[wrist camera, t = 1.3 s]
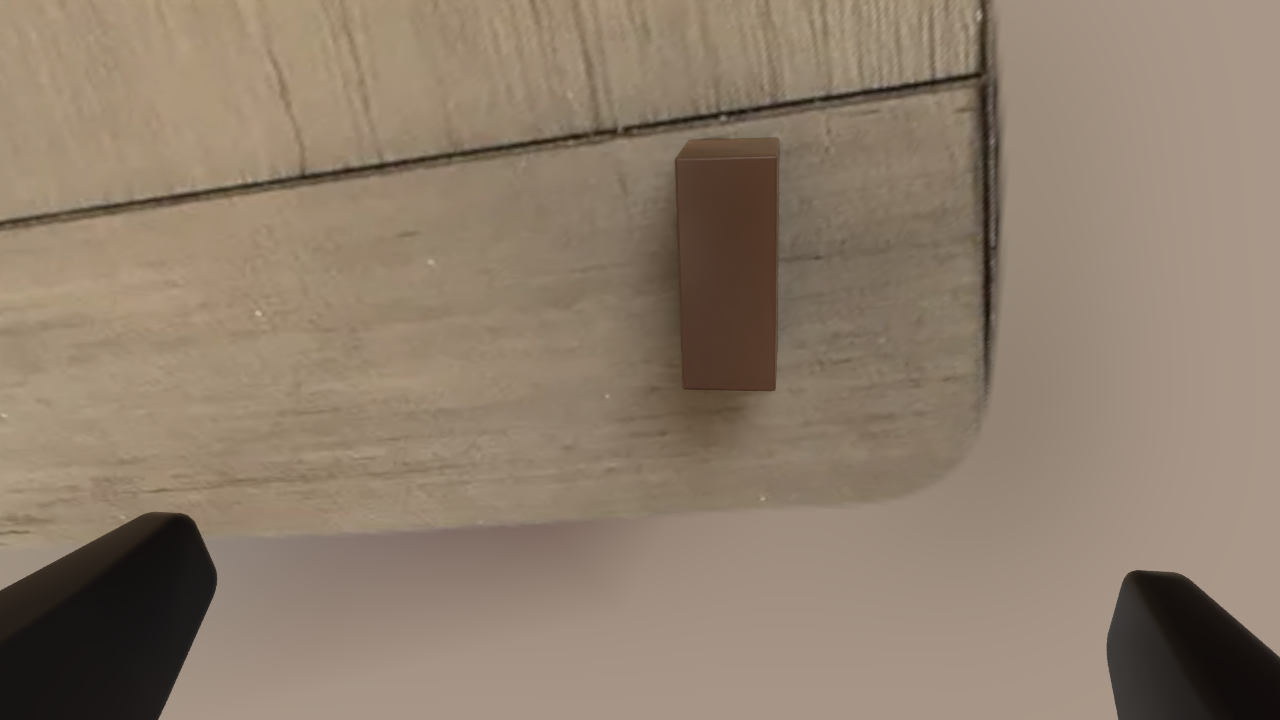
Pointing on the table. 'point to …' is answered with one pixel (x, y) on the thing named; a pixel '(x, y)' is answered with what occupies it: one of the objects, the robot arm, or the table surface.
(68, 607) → the robot arm
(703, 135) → the table surface
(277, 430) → the table surface
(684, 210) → the tall brown square pillar
